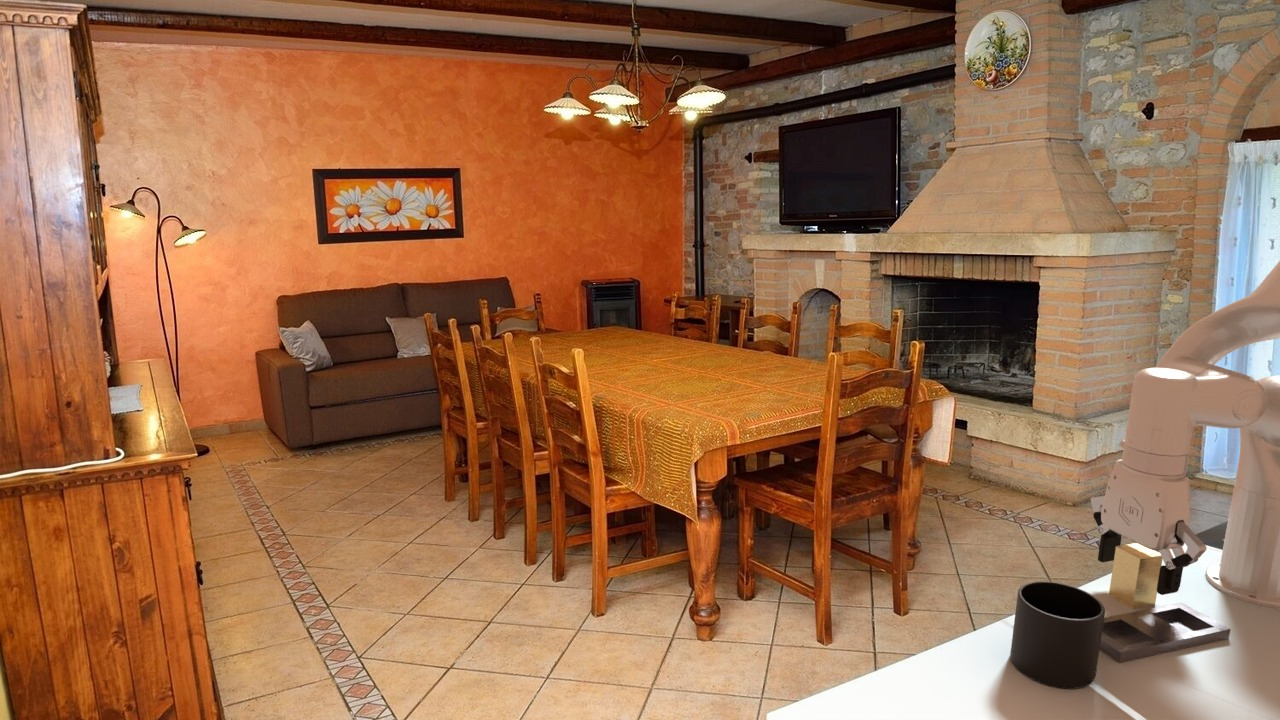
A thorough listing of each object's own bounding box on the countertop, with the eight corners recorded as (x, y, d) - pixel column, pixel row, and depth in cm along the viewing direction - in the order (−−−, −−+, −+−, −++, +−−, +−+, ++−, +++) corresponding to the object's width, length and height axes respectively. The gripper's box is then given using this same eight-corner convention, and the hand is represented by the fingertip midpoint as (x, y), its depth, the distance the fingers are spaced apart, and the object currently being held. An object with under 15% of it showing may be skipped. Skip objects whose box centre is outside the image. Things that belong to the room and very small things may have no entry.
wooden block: (1130, 594, 120) (1138, 542, 119) (1154, 607, 117) (1163, 555, 115) (1108, 598, 119) (1116, 546, 117) (1132, 612, 115) (1140, 558, 114)
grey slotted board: (1179, 615, 115) (1181, 602, 114) (1227, 642, 108) (1230, 629, 108) (1074, 637, 109) (1076, 623, 109) (1118, 667, 103) (1121, 652, 102)
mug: (1129, 675, 101) (1140, 607, 99) (1053, 697, 97) (1063, 626, 95) (1065, 635, 110) (1073, 572, 108) (993, 653, 105) (1000, 588, 103)
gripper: (1081, 442, 120) (1066, 552, 124) (1192, 486, 104) (1171, 610, 108) (1122, 437, 122) (1106, 546, 126) (1236, 479, 106) (1214, 602, 110)
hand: (1136, 575), depth 117 cm, fingers open, 9 cm apart
